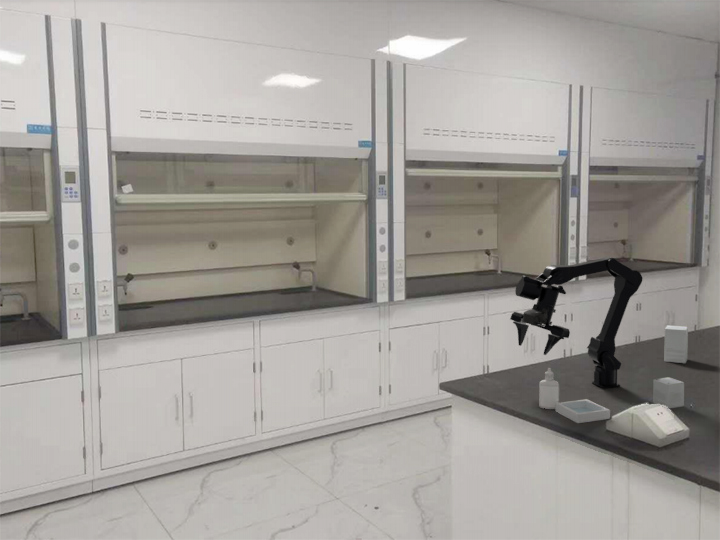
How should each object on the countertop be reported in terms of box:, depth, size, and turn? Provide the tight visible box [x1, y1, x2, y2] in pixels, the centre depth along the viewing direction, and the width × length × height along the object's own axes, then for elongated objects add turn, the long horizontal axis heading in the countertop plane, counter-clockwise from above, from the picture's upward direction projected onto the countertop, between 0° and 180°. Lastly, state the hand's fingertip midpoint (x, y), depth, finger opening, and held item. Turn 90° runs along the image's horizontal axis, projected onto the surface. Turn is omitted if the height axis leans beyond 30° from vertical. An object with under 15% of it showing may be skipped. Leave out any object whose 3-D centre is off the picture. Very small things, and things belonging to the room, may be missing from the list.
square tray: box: [555, 398, 611, 424], centre depth 181 cm, size 10×10×2 cm
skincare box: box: [652, 377, 685, 409], centre depth 188 cm, size 6×6×7 cm
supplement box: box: [663, 324, 689, 364], centre depth 237 cm, size 7×7×13 cm
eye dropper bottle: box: [538, 367, 560, 410], centre depth 188 cm, size 4×6×12 cm
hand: (532, 350), depth 205 cm, fingers open, 9 cm apart
